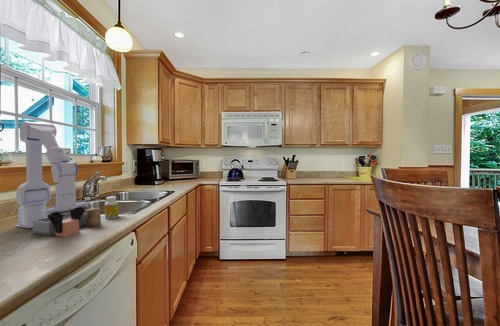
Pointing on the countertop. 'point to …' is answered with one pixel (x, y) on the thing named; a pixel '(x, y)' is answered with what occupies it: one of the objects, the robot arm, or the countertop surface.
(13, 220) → the countertop surface
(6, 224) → the countertop surface
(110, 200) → the supplement bottle
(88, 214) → the cylinder
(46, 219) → the box
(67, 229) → the cube
